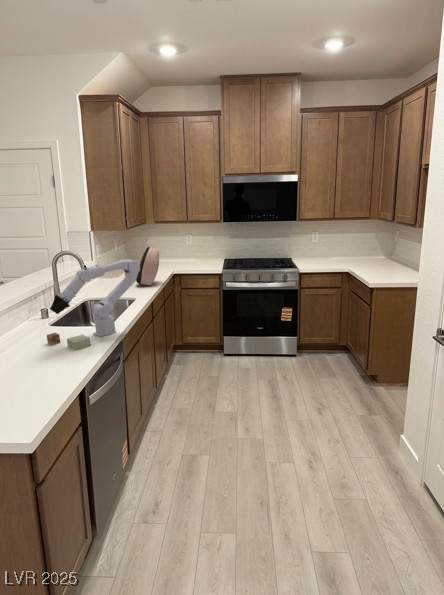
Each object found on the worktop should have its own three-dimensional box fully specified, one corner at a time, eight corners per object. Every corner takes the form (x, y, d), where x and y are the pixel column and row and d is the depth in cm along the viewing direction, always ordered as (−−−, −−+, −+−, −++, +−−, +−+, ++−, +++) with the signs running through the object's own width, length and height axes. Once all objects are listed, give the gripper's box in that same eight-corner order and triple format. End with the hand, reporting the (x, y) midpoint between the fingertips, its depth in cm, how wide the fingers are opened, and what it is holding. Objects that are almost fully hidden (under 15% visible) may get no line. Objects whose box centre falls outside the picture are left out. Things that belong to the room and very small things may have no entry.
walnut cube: (56, 340, 209) (55, 332, 208) (60, 342, 206) (59, 334, 205) (47, 343, 206) (46, 334, 205) (51, 345, 203) (50, 336, 202)
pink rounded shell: (138, 282, 337) (134, 245, 329) (162, 280, 339) (159, 244, 331) (135, 288, 316) (131, 249, 308) (161, 286, 318) (157, 247, 310)
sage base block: (83, 341, 205) (82, 334, 204) (91, 345, 200) (89, 337, 199) (67, 346, 200) (66, 338, 199) (75, 350, 194) (74, 342, 193)
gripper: (68, 288, 209) (50, 309, 206) (62, 281, 195) (42, 304, 192) (80, 296, 209) (62, 317, 206) (74, 290, 195) (54, 312, 192)
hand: (53, 311), depth 199 cm, fingers open, 7 cm apart
